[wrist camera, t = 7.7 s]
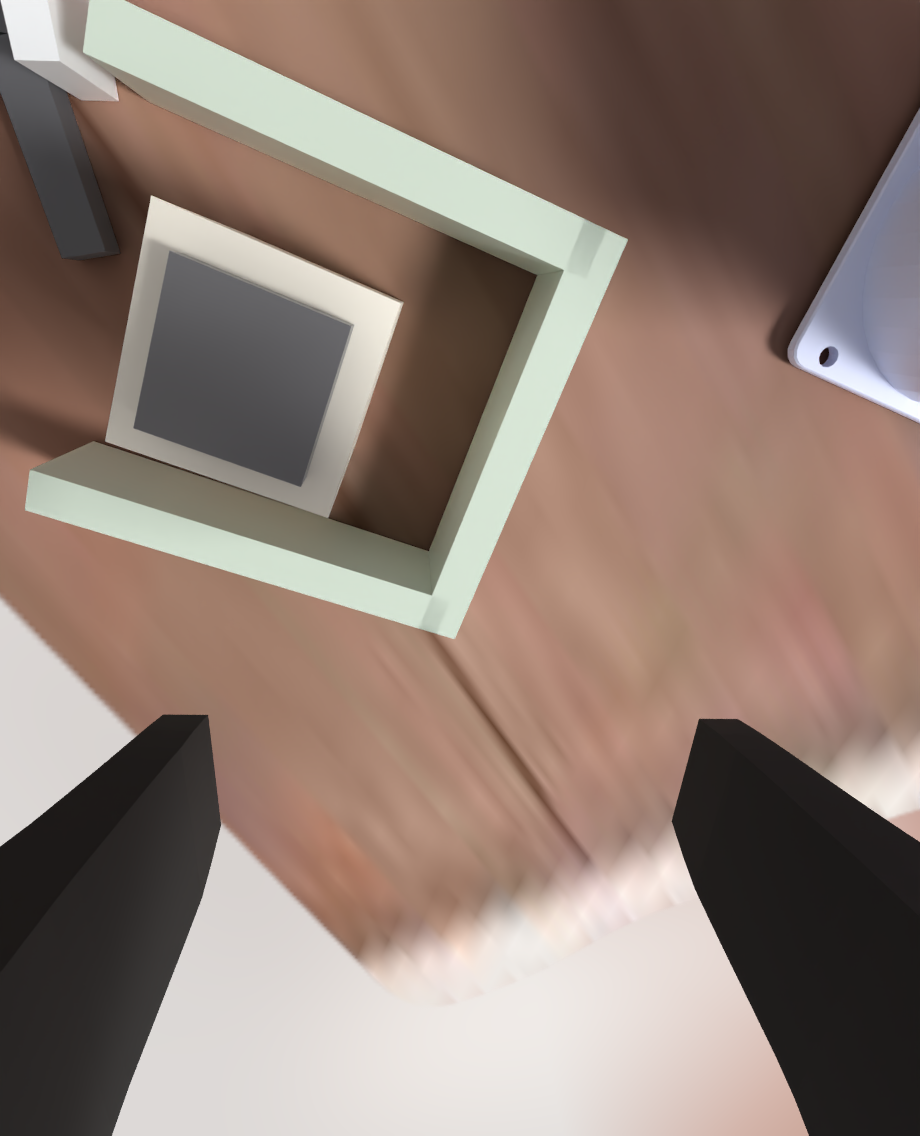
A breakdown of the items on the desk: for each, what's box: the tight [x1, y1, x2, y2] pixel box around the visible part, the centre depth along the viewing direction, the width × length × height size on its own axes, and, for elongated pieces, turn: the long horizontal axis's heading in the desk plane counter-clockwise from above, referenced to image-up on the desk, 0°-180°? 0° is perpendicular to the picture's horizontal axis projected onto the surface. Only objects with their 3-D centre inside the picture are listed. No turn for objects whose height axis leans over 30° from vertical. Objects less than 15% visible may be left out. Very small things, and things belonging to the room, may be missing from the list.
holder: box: [25, 0, 628, 639], centre depth 15 cm, size 10×10×3 cm
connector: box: [105, 195, 404, 518], centre depth 13 cm, size 4×4×7 cm
